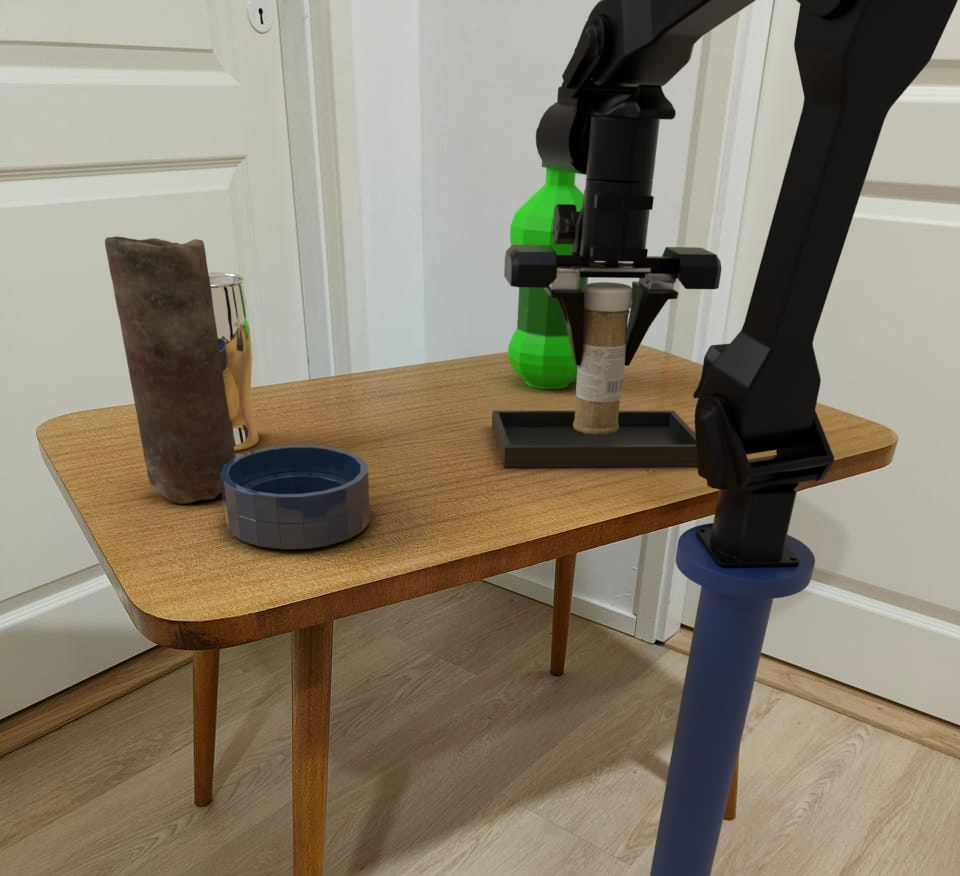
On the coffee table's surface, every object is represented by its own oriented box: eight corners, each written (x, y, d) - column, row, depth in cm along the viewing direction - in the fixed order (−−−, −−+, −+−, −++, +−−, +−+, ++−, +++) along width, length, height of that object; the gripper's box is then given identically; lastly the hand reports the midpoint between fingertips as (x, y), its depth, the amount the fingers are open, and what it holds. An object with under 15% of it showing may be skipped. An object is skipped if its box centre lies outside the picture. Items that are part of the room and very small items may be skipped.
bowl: (369, 552, 67) (367, 496, 65) (217, 554, 66) (209, 497, 64) (370, 495, 77) (368, 444, 74) (237, 496, 76) (231, 445, 73)
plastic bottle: (562, 369, 114) (579, 146, 101) (604, 391, 106) (628, 151, 93) (491, 375, 111) (499, 145, 98) (529, 399, 102) (543, 151, 89)
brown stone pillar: (134, 485, 77) (87, 232, 67) (211, 466, 81) (179, 226, 71) (175, 512, 72) (132, 245, 62) (255, 491, 77) (227, 238, 66)
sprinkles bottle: (602, 420, 90) (615, 279, 84) (627, 434, 87) (643, 287, 80) (563, 426, 89) (573, 282, 82) (587, 439, 85) (599, 290, 78)
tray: (703, 466, 85) (707, 446, 84) (504, 467, 83) (505, 447, 82) (671, 429, 95) (674, 410, 93) (491, 429, 93) (492, 410, 92)
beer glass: (278, 439, 88) (263, 278, 80) (226, 459, 83) (204, 288, 75) (227, 425, 91) (209, 269, 83) (174, 444, 86) (149, 278, 78)
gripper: (696, 175, 84) (674, 345, 92) (500, 171, 82) (494, 344, 91) (736, 185, 75) (707, 373, 83) (516, 180, 73) (508, 373, 81)
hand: (601, 364), depth 85 cm, fingers closed on sprinkles bottle, 4 cm apart
